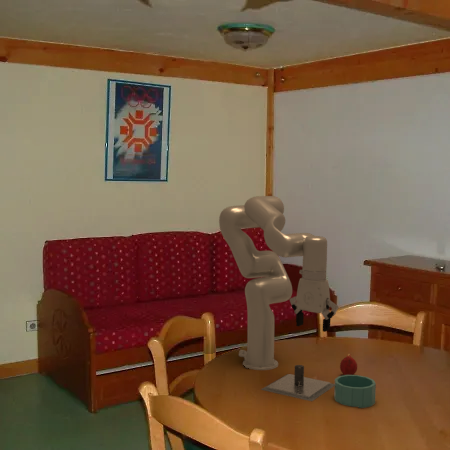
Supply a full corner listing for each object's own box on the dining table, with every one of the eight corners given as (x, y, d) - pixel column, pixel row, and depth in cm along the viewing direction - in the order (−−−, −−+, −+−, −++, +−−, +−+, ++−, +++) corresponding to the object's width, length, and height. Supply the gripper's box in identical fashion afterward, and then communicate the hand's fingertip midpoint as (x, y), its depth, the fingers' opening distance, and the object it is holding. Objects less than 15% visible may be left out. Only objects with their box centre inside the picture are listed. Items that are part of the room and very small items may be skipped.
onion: (357, 380, 218) (357, 357, 217) (339, 379, 219) (340, 356, 218) (357, 375, 223) (357, 352, 222) (340, 373, 224) (340, 351, 224)
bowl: (328, 402, 198) (328, 383, 197) (344, 390, 208) (344, 372, 207) (365, 410, 191) (366, 391, 191) (380, 398, 201) (380, 379, 201)
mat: (260, 390, 208) (260, 389, 208) (287, 375, 223) (287, 374, 223) (311, 402, 198) (311, 401, 198) (336, 385, 213) (336, 384, 213)
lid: (267, 389, 208) (267, 368, 207) (289, 376, 220) (289, 356, 220) (309, 398, 200) (310, 377, 199) (330, 384, 212) (330, 364, 212)
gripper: (284, 273, 209) (283, 325, 210) (332, 280, 198) (330, 335, 200) (297, 270, 214) (296, 321, 216) (344, 277, 204) (342, 330, 205)
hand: (312, 328), depth 208 cm, fingers open, 9 cm apart
